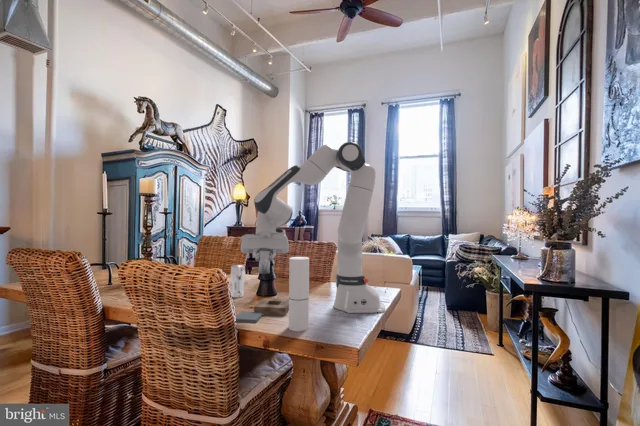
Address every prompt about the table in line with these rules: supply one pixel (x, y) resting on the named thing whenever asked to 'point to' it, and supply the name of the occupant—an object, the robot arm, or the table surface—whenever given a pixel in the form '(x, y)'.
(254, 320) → the slate mat
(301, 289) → the cylindrical container
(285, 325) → the table surface
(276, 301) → the walnut bore block
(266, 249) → the metal plug
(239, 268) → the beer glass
